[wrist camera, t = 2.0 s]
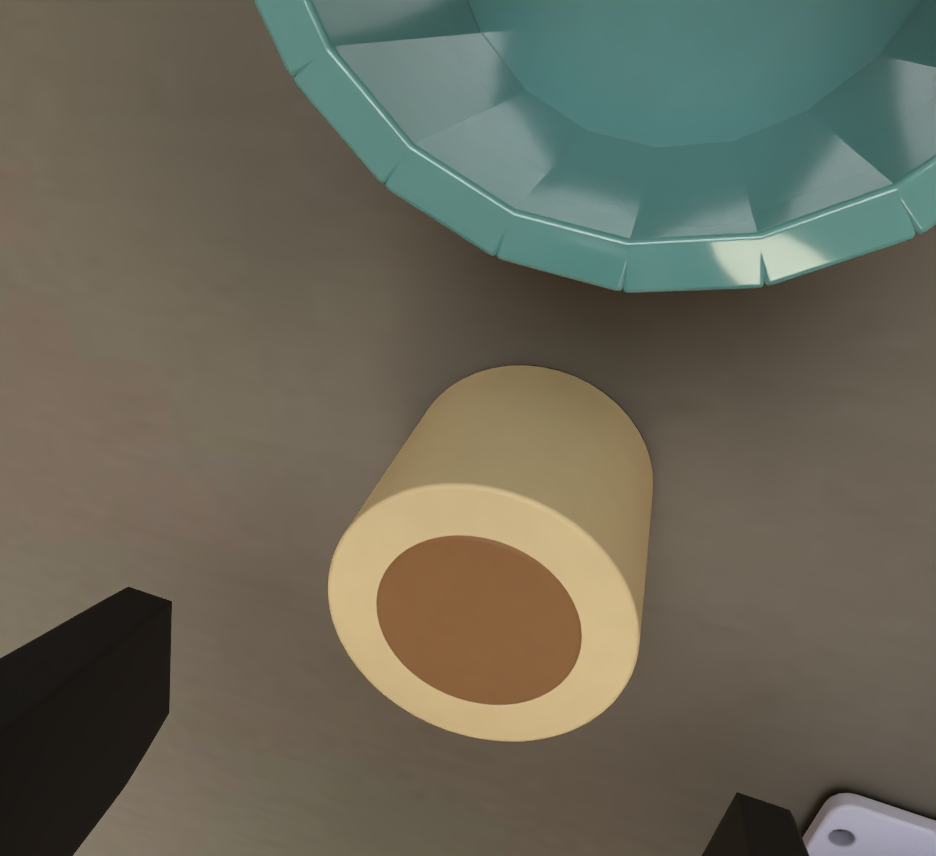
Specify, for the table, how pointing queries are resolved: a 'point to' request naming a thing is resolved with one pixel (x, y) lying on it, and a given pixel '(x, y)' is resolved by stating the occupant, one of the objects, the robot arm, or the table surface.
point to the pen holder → (636, 127)
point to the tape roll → (502, 559)
